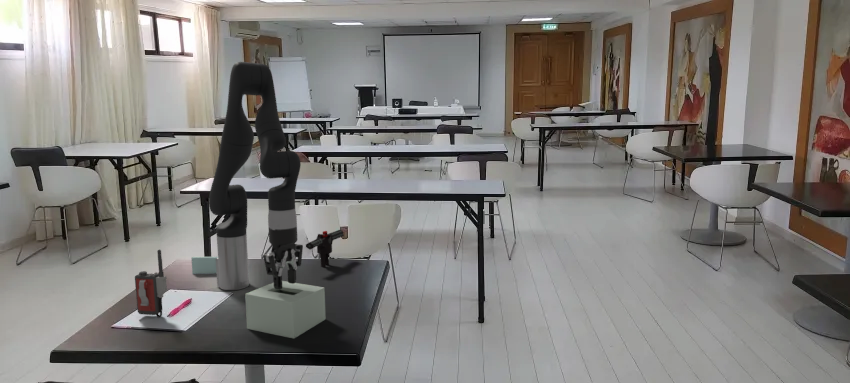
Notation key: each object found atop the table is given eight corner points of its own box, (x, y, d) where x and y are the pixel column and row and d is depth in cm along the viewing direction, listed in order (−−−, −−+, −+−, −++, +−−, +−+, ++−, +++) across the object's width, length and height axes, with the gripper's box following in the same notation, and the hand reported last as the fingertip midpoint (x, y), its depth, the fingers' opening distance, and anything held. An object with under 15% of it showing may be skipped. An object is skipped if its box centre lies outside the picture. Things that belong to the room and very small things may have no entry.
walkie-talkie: (170, 316, 183) (165, 248, 180) (161, 321, 179) (156, 252, 176) (143, 314, 185) (137, 247, 182) (133, 319, 180) (127, 251, 177)
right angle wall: (237, 268, 233) (236, 249, 231) (227, 278, 221) (226, 257, 220) (204, 269, 233) (203, 249, 231) (192, 278, 221) (191, 257, 220)
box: (247, 329, 172) (245, 293, 171) (280, 313, 185) (279, 280, 183) (294, 339, 165) (292, 302, 164) (325, 321, 177) (324, 287, 176)
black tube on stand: (347, 266, 234) (346, 226, 232) (316, 280, 217) (315, 237, 214) (335, 264, 236) (333, 225, 234) (304, 278, 219) (302, 236, 217)
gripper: (288, 219, 178) (291, 277, 181) (253, 229, 166) (256, 291, 168) (310, 221, 175) (312, 280, 178) (276, 231, 162) (278, 295, 165)
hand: (285, 285), depth 173 cm, fingers open, 5 cm apart
